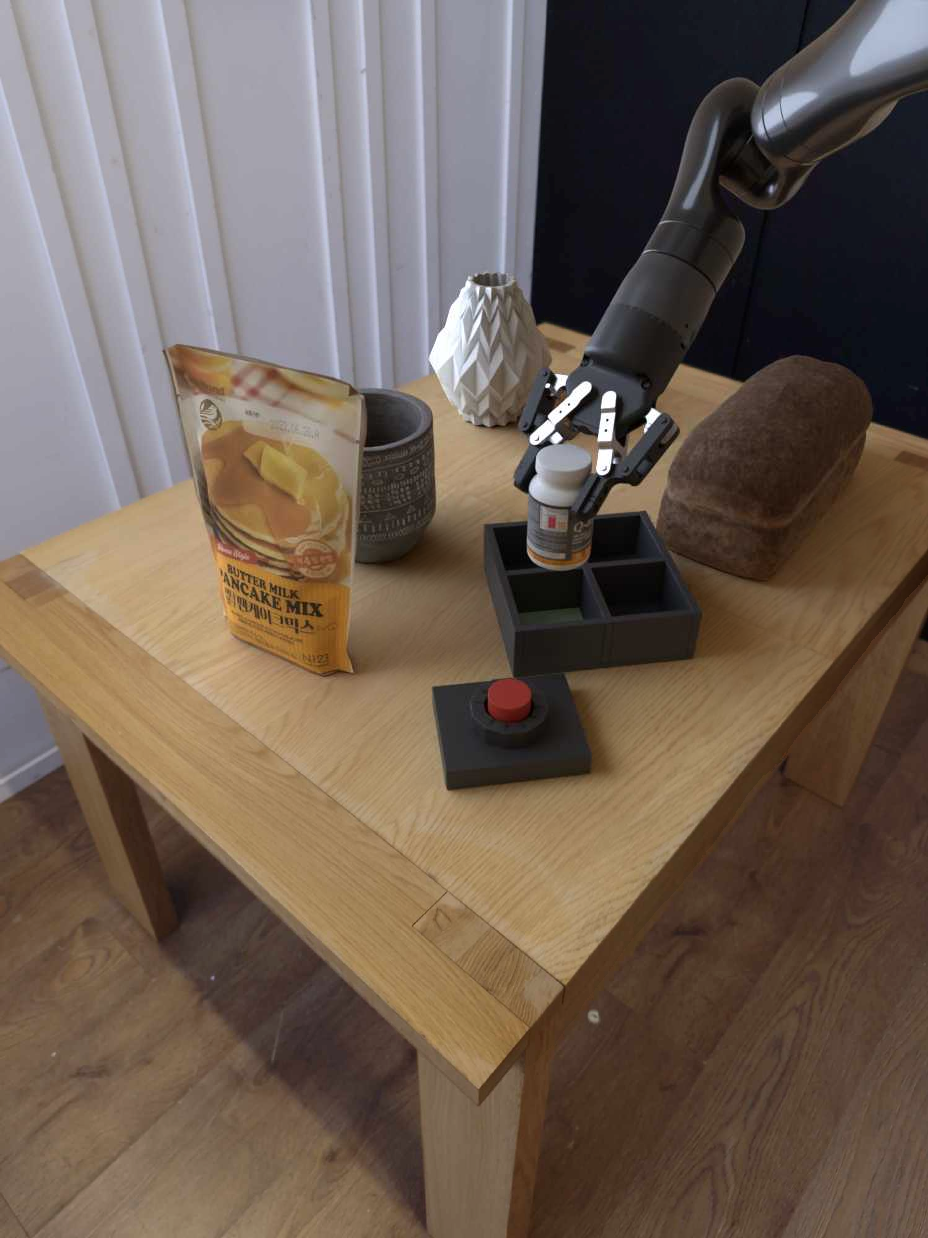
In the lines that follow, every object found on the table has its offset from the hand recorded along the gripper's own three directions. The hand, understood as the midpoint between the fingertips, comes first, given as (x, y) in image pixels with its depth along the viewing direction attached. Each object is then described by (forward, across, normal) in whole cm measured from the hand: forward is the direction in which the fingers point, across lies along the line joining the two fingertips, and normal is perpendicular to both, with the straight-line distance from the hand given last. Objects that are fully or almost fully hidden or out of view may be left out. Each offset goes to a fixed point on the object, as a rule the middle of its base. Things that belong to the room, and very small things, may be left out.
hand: (548, 503), depth 75 cm
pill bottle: (+3, 0, +6) cm, 7 cm away
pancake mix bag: (+23, -18, +1) cm, 29 cm away
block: (+19, +6, +4) cm, 20 cm away
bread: (-14, +2, +38) cm, 41 cm away
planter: (+11, -26, +12) cm, 31 cm away
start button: (+17, +6, +2) cm, 18 cm away
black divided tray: (+7, -1, +17) cm, 18 cm away
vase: (-11, -37, +35) cm, 52 cm away
